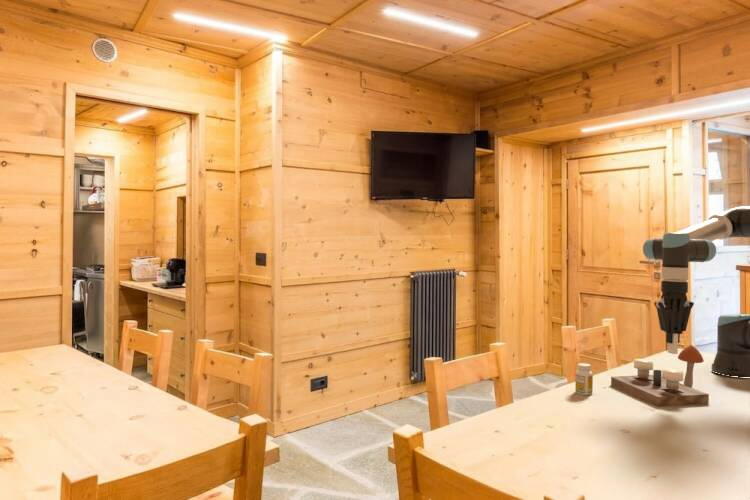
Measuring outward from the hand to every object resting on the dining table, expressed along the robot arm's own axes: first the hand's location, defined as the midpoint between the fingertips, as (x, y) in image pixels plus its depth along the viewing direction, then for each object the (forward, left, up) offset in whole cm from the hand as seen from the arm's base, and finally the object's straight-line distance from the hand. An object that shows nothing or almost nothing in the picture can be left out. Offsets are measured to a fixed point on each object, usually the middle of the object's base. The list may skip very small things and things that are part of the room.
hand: (672, 353), depth 172 cm
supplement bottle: (+24, -12, -16) cm, 31 cm away
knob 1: (0, -14, -11) cm, 18 cm away
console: (0, -7, -15) cm, 17 cm away
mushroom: (-17, -12, -16) cm, 26 cm away
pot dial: (0, -7, -12) cm, 14 cm away
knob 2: (0, 0, -11) cm, 11 cm away
